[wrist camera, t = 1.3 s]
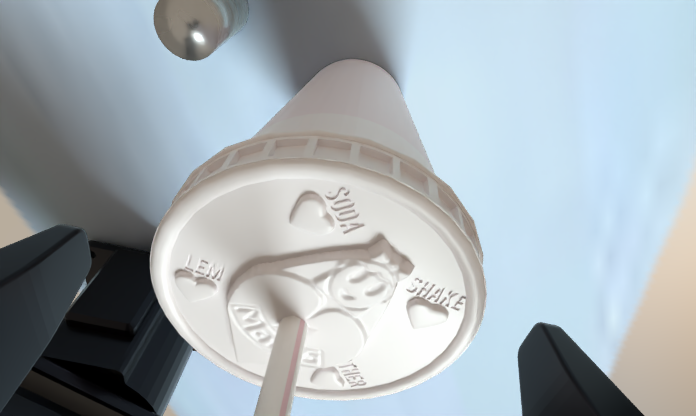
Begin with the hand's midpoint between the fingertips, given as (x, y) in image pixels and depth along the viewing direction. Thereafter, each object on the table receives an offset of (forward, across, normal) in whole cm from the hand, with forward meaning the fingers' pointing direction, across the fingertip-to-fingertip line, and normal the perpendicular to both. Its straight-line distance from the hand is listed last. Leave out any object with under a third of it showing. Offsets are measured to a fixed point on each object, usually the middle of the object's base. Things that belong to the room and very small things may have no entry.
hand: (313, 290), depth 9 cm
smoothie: (+9, 0, 0) cm, 9 cm away
